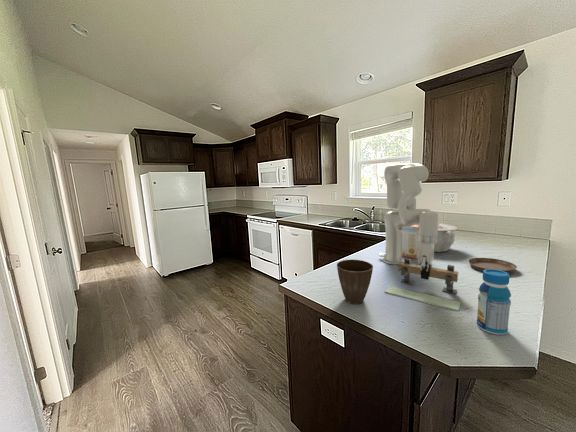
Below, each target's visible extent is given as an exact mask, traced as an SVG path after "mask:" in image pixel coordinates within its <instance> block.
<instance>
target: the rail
mask: <svg viewBox="0 0 576 432" xmlns="http://www.w3.org/2000/svg"><path fill="white" fill-rule="evenodd" d="M426 267H427V266H426ZM401 268H403V269H406V273H410V275H411V274H412V275H418V276H421V265H420V264H415V263H411V264H409V263H403V262H399V263H398V265H397V271H398V272H401ZM428 271H429V278H432V279H433V278H434V279H438V280H444V281H445V278H446V276H447V277H451V281H453V282H454V283H458V281H459V271H457V270H454V271H451V270H447V269H444V268H438V267H432V266H430V267H429V268H428Z"/></svg>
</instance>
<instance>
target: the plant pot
mask: <svg viewBox="0 0 576 432" xmlns="http://www.w3.org/2000/svg"><path fill="white" fill-rule="evenodd" d="M336 268H337V274H338V279H339V284H340V288H341V291H342V293H343V297H344V298H345V301H346V302H347V303H349V304H352V305H360V304H362V303H363V302H364V300H365V298H366V296H367V293H368V290H369V287H370V284H371V281H372V275H373V270H374V265H373V264H372V263H370V262H368V261H365V260H363V259H362V260H361V259H344V260H341V261H339V262H337V263H336Z"/></svg>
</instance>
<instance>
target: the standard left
mask: <svg viewBox="0 0 576 432" xmlns="http://www.w3.org/2000/svg"><path fill="white" fill-rule="evenodd" d="M403 259H404V263H409V264H412V263H411V261H412V259H411V258H409V257H405V258H403ZM400 275H401V276H403V278H402V279H401V280H400V283H401V284H402V283H403V284H406V285H413V283H414V280H411V273H406V269H403V268H401V271H400Z"/></svg>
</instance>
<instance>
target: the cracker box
mask: <svg viewBox="0 0 576 432" xmlns="http://www.w3.org/2000/svg"><path fill="white" fill-rule="evenodd" d="M398 228H399V230H400V231H401V232H402V257H405V258H409V259H411V258H412V259H417V260H418V254H419V245H420V242H418V228H419V226H417V225H413V226H404V227H398Z"/></svg>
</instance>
